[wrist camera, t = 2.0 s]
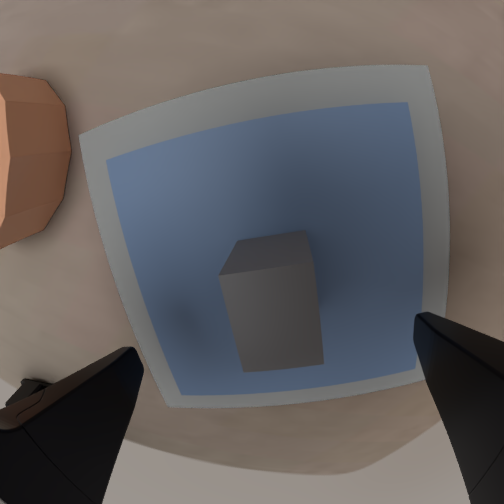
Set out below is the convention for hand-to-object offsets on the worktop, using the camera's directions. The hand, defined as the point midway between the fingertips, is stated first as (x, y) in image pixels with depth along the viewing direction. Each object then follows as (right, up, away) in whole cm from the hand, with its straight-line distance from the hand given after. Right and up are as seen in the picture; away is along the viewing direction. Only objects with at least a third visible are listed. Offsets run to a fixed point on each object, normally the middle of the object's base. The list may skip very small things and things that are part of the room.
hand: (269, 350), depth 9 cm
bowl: (-17, +9, +6) cm, 20 cm away
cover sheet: (+1, +2, +6) cm, 6 cm away
